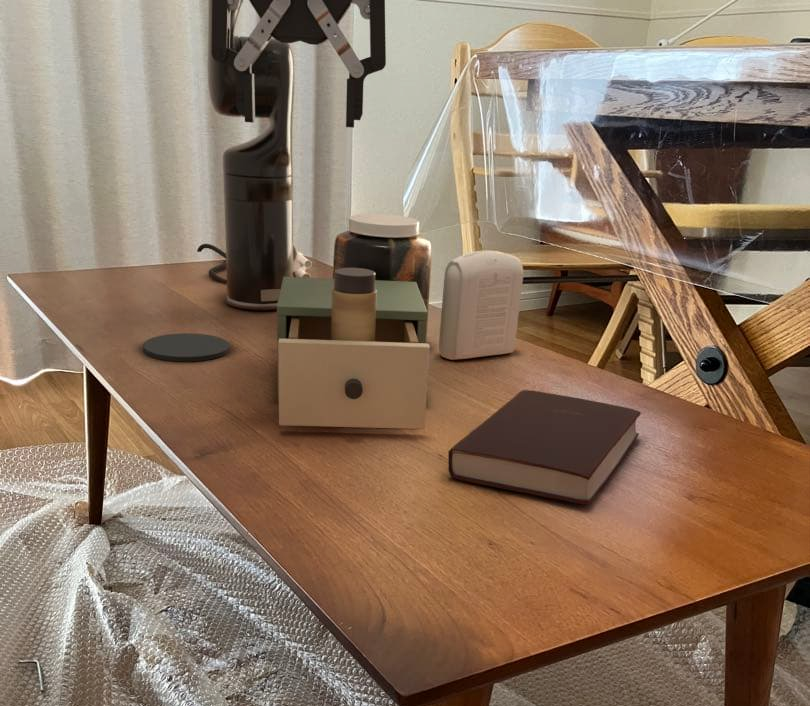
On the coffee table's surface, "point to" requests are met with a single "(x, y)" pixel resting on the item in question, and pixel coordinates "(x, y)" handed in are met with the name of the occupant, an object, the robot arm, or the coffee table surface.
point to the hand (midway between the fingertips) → (299, 124)
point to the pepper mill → (353, 305)
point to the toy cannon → (296, 265)
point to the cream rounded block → (480, 305)
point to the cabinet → (317, 301)
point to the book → (546, 446)
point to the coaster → (186, 347)
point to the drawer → (352, 376)
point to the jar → (386, 250)
